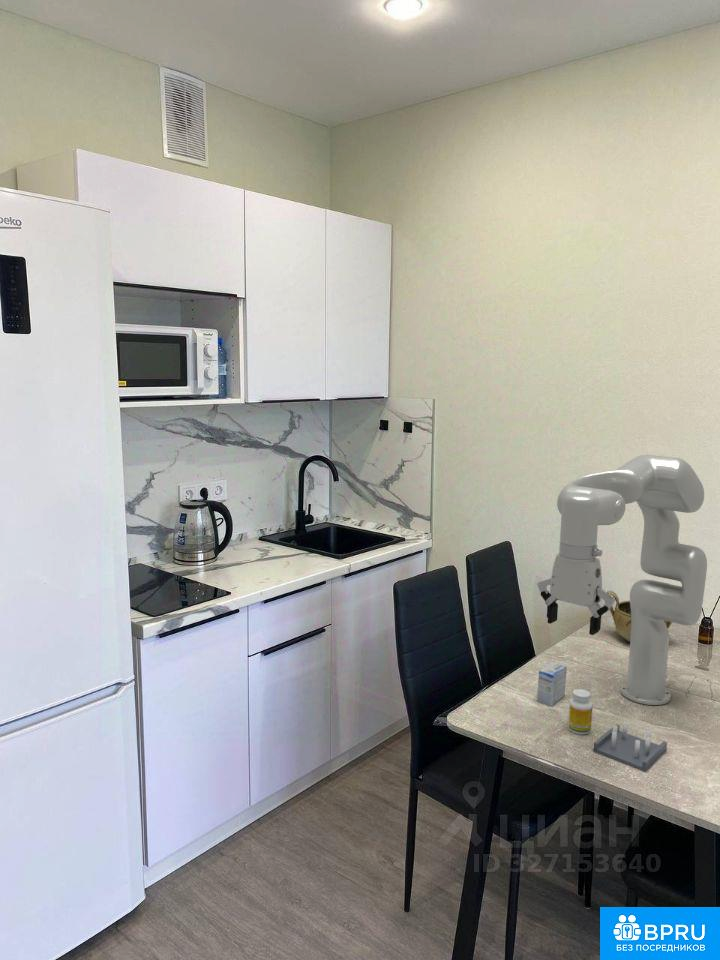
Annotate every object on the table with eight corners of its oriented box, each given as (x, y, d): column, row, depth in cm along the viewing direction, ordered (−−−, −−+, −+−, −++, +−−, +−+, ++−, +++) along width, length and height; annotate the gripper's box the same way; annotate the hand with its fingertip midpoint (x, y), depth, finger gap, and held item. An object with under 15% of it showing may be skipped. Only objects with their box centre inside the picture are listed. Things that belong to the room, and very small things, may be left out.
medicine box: (549, 691, 195) (551, 661, 194) (565, 696, 192) (567, 665, 191) (536, 701, 189) (538, 670, 188) (552, 707, 186) (554, 675, 185)
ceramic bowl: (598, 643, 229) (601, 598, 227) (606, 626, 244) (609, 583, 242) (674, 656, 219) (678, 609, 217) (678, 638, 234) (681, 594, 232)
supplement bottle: (565, 723, 177) (567, 687, 176) (587, 724, 177) (590, 688, 176) (570, 734, 172) (572, 697, 171) (593, 735, 172) (595, 698, 170)
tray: (615, 732, 173) (617, 713, 173) (666, 751, 165) (668, 731, 165) (593, 751, 165) (594, 732, 164) (645, 772, 157) (647, 751, 156)
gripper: (624, 555, 150) (618, 633, 153) (548, 541, 162) (544, 613, 165) (609, 562, 145) (603, 643, 148) (532, 546, 156) (528, 622, 159)
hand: (572, 627), depth 156 cm, fingers open, 9 cm apart
